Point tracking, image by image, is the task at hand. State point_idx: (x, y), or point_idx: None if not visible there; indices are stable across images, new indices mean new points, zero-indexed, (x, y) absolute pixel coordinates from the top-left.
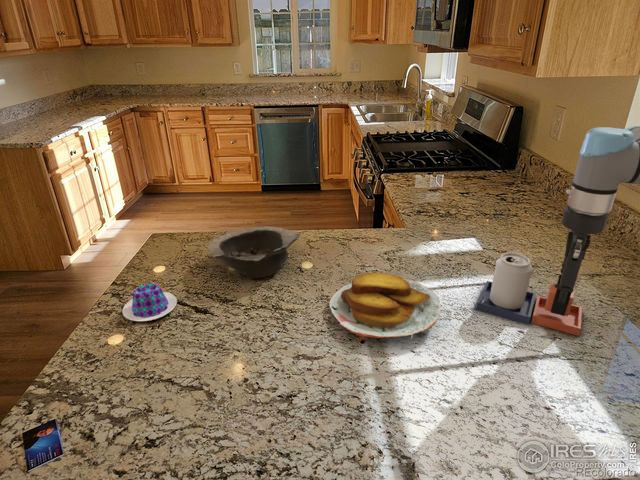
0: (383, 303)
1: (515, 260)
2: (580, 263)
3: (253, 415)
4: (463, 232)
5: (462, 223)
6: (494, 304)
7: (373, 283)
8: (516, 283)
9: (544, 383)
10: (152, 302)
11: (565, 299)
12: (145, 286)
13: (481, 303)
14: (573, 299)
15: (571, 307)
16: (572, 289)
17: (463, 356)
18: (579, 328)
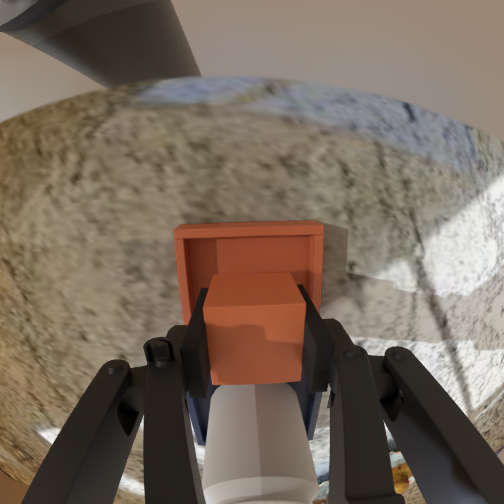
0: (395, 489)
1: None
2: (500, 466)
3: (496, 429)
4: (39, 442)
5: (19, 437)
6: None
7: None
8: (310, 455)
9: (480, 271)
10: None
11: (345, 333)
12: None
13: (311, 435)
14: (304, 301)
15: (187, 258)
16: (416, 360)
17: (445, 385)
18: (323, 229)
